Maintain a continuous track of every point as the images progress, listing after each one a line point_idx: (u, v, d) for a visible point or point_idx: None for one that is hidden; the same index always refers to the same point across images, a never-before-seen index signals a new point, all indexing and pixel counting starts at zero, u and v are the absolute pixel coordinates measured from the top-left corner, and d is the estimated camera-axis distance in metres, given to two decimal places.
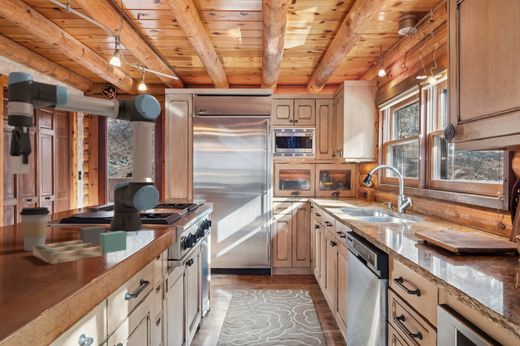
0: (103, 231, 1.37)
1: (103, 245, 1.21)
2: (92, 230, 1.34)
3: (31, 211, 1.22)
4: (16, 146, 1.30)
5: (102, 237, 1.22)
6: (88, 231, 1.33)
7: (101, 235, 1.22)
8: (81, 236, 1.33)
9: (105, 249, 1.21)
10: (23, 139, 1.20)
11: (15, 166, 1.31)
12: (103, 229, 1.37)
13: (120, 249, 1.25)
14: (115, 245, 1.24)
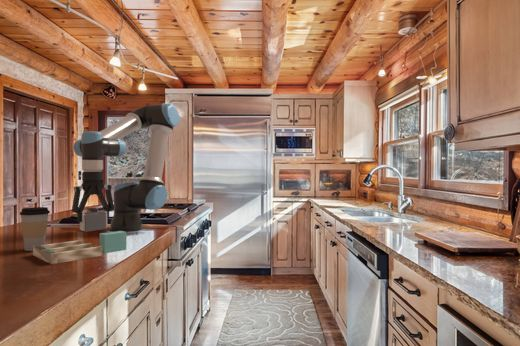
0: (104, 216, 1.38)
1: (103, 245, 1.21)
2: (93, 215, 1.35)
3: (31, 211, 1.22)
4: (100, 200, 1.39)
5: (102, 237, 1.22)
6: (90, 217, 1.34)
7: (101, 235, 1.22)
8: None
9: (105, 249, 1.21)
10: (73, 199, 1.32)
11: None
12: (104, 214, 1.38)
13: (120, 249, 1.25)
14: (115, 245, 1.24)
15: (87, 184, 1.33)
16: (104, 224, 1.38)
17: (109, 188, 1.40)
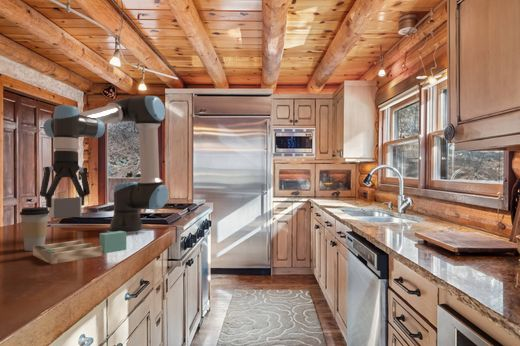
0: (78, 202, 1.22)
1: (103, 245, 1.21)
2: (65, 200, 1.18)
3: (31, 211, 1.22)
4: (74, 184, 1.23)
5: (102, 237, 1.22)
6: (60, 202, 1.17)
7: (101, 235, 1.22)
8: None
9: (105, 249, 1.21)
10: (42, 181, 1.16)
11: None
12: (78, 200, 1.22)
13: (120, 249, 1.25)
14: (115, 245, 1.24)
15: (59, 165, 1.18)
16: (77, 211, 1.21)
17: (85, 171, 1.24)
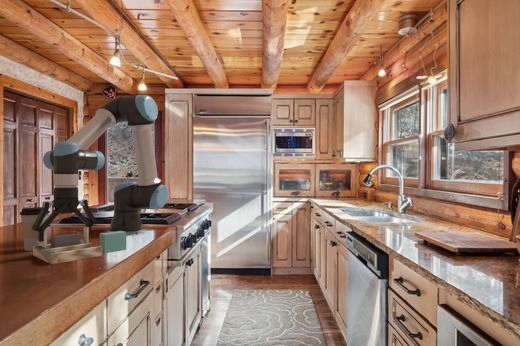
0: (78, 238, 1.22)
1: (103, 245, 1.21)
2: (65, 237, 1.18)
3: (31, 211, 1.22)
4: (79, 217, 1.24)
5: (102, 237, 1.22)
6: (60, 239, 1.17)
7: (101, 235, 1.22)
8: (52, 244, 1.17)
9: (105, 249, 1.21)
10: (38, 215, 1.15)
11: (84, 237, 1.25)
12: (78, 236, 1.22)
13: (120, 249, 1.25)
14: (115, 245, 1.24)
15: (59, 202, 1.18)
16: None
17: (86, 203, 1.24)
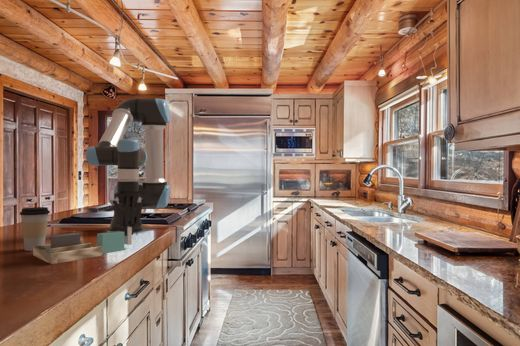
0: (78, 238, 1.22)
1: (101, 245, 1.21)
2: (65, 237, 1.18)
3: (31, 211, 1.22)
4: (129, 213, 1.30)
5: (100, 237, 1.21)
6: (60, 239, 1.17)
7: (98, 235, 1.22)
8: (52, 244, 1.17)
9: (103, 249, 1.20)
10: (115, 213, 1.26)
11: None
12: (78, 236, 1.22)
13: (118, 249, 1.24)
14: (113, 245, 1.23)
15: (122, 194, 1.26)
16: None
17: (142, 202, 1.32)
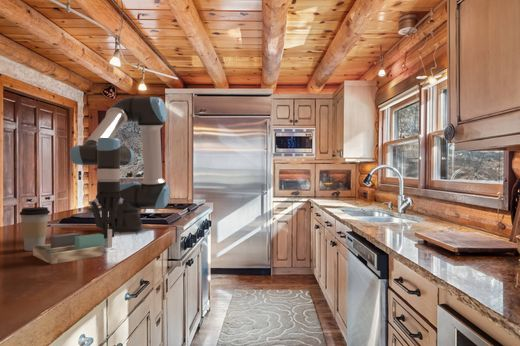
0: None
1: (78, 248, 1.15)
2: (65, 237, 1.18)
3: (31, 211, 1.22)
4: (110, 214, 1.24)
5: (77, 240, 1.16)
6: (60, 239, 1.17)
7: (76, 237, 1.16)
8: (52, 244, 1.17)
9: None
10: (94, 214, 1.20)
11: None
12: None
13: None
14: None
15: (101, 195, 1.21)
16: None
17: (123, 203, 1.27)
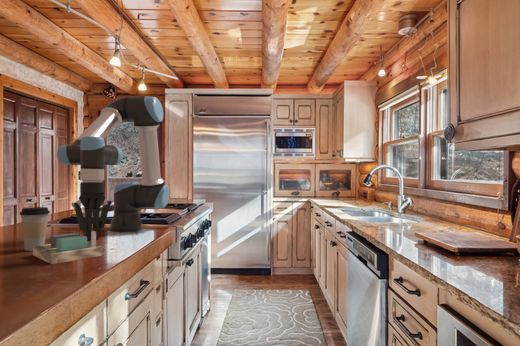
0: None
1: (59, 251, 1.11)
2: (65, 237, 1.18)
3: (31, 211, 1.22)
4: (94, 216, 1.20)
5: (59, 243, 1.11)
6: None
7: (57, 240, 1.12)
8: (52, 244, 1.17)
9: None
10: (77, 216, 1.16)
11: None
12: None
13: None
14: None
15: (85, 196, 1.16)
16: None
17: (108, 204, 1.22)
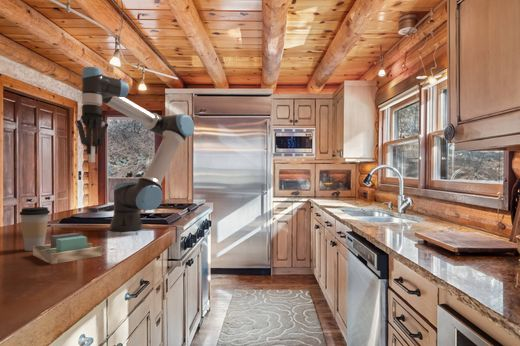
0: None
1: (59, 251, 1.11)
2: (65, 237, 1.18)
3: (31, 211, 1.22)
4: (93, 134, 1.44)
5: (59, 243, 1.11)
6: None
7: (57, 240, 1.12)
8: (52, 244, 1.17)
9: None
10: (79, 132, 1.41)
11: None
12: None
13: None
14: None
15: (86, 116, 1.41)
16: None
17: (105, 126, 1.47)
